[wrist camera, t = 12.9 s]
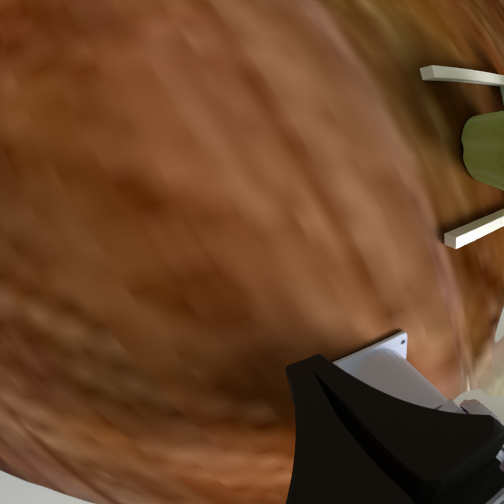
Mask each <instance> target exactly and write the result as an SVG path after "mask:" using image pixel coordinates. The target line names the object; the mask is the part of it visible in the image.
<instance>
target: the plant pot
mask: <svg viewBox="0 0 504 504" xmlns="http://www.w3.org/2000/svg"><path fill="white" fill-rule="evenodd" d="M461 141H462V144H463V148H464V154H463V160H464V163H465V166H466V168H467V170H468V172H469V174H470V175H471V176H472V177H473V178H474V179H476V180H478V181H481V182H483V183H486V184H489V185H491V186H494V187H496V188H499V189H501V190H503V191H504V111H499V112H493V113H487V114H482V115H477V116H473V117H471V118H470V119H468V121H467V122H466V124H465V126H464V128H463V132H462V139H461Z"/></svg>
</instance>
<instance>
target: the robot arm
mask: <svg viewBox="0 0 504 504" xmlns="http://www.w3.org/2000/svg"><path fill="white" fill-rule="evenodd" d="M401 341H402V342H401ZM406 352H407V333H406V332H405V331H401V332H399V333H397V334H395V335H393V336H391V337H389V338H386V339H384V340H382V341H380V342H378V343H376V344H374V345H371V346H369V347H367V348H365V349H362V350H360V351H358V352H356V353H353V354H351V355H349V356H346V357H344V358H341V359H339V360H337V361H334V362H331V361H330V360H328V359H327V358H325V357H324V356H323V355H321V354H318V355H315V356H312V357H310V358H307V359H304V360H302V361H299V362H296V363H293V364H291V365H288V366H287V367H286V368H285V370H286V375H287V379H288V383H289V387H290V391H291V395H292V399H293V403H294V405H295V416H296V442H295V455H294V464H293V471H292V478H291V482H290V487H289V492H288V497H287V501H286V504H504V424H503V423H502V422H501V421H500V420H499V419H498V418H497V417H496V416H495V415H494V414H493V413H492V412H491V411H490V410H489V409H488V408H486V407H485V406H484V405H483V404H481V403H480V402H478V401H477V400H475V399H474V400H469V401H468V400H464V401H463V402H462V403H461V404H460V407H461V408H462V410H463V411H462V410H461V409H460V408H459V407H458V406H457V405H456V404H455V403H454V402H453V401H452V400H451V399H449V400H448V399H446V398H445V397H444V396H443V395H442V394H441V393H440V392H439V391H438V390H437V389H436V388H435V387H434V386H433V385H432V384H431V383H430V382H429V381H428V380H427V379H426V378H425V377H424V376H423V375H421V374H420V373H419V372H418V371H417V370H416V369H415V368H414V367H413V366H412V365H411V364H410V363H409V362H408V361H407V360H406Z"/></svg>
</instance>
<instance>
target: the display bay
mask: <svg viewBox="0 0 504 504" xmlns="http://www.w3.org/2000/svg"><path fill="white" fill-rule="evenodd" d="M420 72H421V76H422V80H433V81H452V82H465V83H476V84H485V85H493V86H500V90H501V94H502V99H503V104H504V76H503V75H498V74H493V73H488V72H482V71H476V70H469V69H462V68H454V67H445V66H434V65H431V66H427V67H423V68H420ZM502 226H504V209H501V210H499V211H497V212H494V213H492V214H490V215H488V216H485V217H483V218H481V219H478V220H476V221H473V222H471V223H469V224H466V225H464V226H461V227H459V228H457V229H454V230H452V231H449V232H447V233H444V244H445V245H447V246H450V247H452V248H455V249H457V248H459V247H461V246H463V245H466V244H468V243H470V242H472V241H474V240H476V239H478V238H480V237H482V236H484V235H486V234H488V233H490V232H492V231H494V230H496V229H498V228H500V227H502Z"/></svg>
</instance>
